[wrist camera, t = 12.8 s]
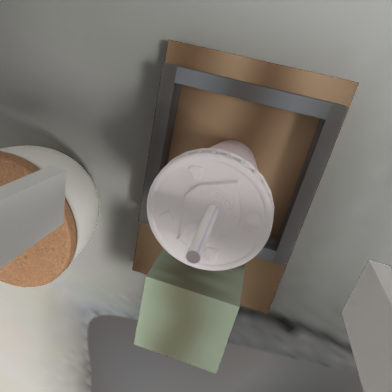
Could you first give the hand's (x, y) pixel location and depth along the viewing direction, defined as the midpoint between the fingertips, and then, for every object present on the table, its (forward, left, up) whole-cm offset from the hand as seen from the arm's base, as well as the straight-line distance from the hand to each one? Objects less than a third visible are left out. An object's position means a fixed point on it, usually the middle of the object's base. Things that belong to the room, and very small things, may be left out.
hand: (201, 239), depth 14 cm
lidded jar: (+15, +7, -13) cm, 21 cm away
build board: (0, +2, -13) cm, 13 cm away
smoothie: (0, 0, -12) cm, 12 cm away
